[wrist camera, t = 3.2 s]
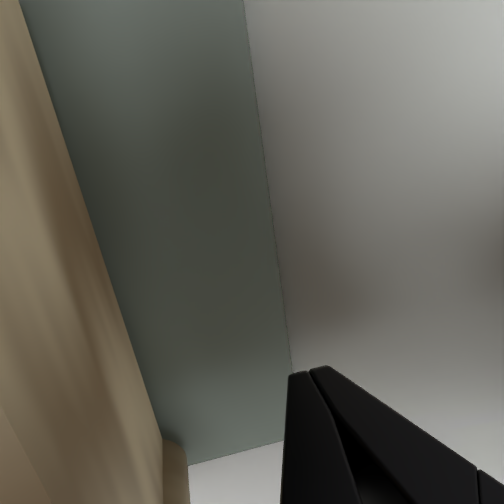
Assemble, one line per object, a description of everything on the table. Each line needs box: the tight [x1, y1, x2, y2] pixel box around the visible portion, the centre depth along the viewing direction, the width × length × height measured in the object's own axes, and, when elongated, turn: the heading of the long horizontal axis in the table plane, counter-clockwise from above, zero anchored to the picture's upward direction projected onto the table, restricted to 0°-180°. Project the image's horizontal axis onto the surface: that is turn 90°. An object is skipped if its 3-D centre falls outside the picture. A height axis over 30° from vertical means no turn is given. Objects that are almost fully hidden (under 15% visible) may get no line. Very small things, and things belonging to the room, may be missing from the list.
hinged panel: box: [0, 0, 190, 504], centre depth 8 cm, size 13×2×6 cm, turn 9°
